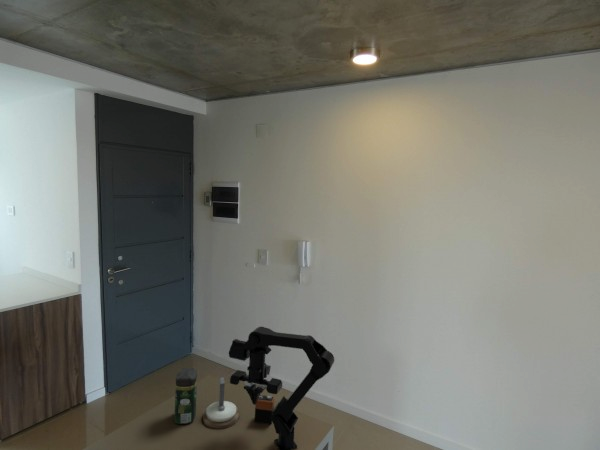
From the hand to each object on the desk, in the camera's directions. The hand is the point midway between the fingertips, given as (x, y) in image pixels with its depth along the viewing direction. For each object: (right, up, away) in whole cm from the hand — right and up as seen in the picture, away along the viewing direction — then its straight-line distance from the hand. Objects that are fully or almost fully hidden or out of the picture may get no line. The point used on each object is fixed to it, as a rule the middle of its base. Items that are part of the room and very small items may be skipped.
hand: (254, 404), depth 129 cm
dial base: (-15, -11, +10) cm, 21 cm away
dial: (-15, -9, +10) cm, 20 cm away
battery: (+2, -12, +10) cm, 16 cm away
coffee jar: (-28, -10, +9) cm, 31 cm away
